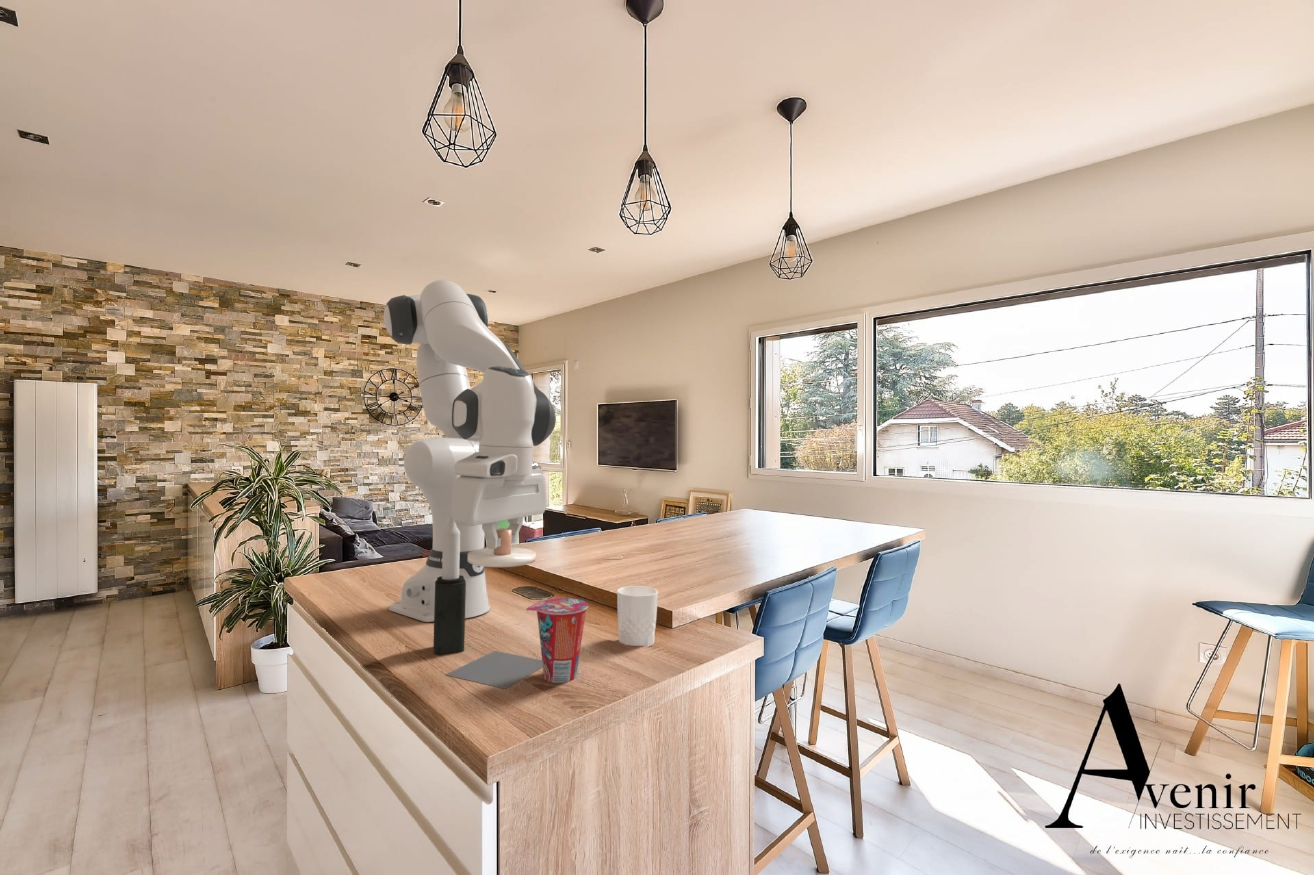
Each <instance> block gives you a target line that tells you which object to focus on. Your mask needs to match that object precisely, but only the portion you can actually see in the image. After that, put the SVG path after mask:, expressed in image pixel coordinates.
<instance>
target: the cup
mask: <svg viewBox="0 0 1314 875" xmlns="http://www.w3.org/2000/svg"><path fill="white" fill-rule="evenodd" d="M588 608H589V604H588V602H586V601H585V600H582V599H578V598H577V599H576V598H568V597H567V598H566V597H565V598H564V597H563V598H562V597H561V598H560V597H559V598H549V599H545V600H542V601H539V602H536V603H534V604H532V605H530V606H528V607H527V608H526V609H525V610H526V611H533V612H534V611H535V612H536V613H537V625H538V634H539V642H540V644H539V645H540V653H541V660H542V663H543V667H542V670H543V671H542V672H543V679H544V680H545V681H546V682H549V683H553V684H554V683H555V684H562V683H563V684H564V683H568V682H571V681H573V680H575V679H576V678H577V677H578V676H577V675H578V669H579V668H578V667H579V662H580V655H581V654H580V652H581V647H582V641H583V640H582V639H583V633H584V627H585V622H586V614H587V609H588Z"/></svg>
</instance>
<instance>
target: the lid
mask: <svg viewBox="0 0 1314 875" xmlns="http://www.w3.org/2000/svg"><path fill="white" fill-rule="evenodd" d="M495 529H496V532H497V536H498V537H501V547H500V548H497V549H488V548H487V547H486V548H483V549H478V550H474V551H471V552H469V553H468V560H467V561H468V562H469V563H470V564H473V565H477V566H484V567H485V568H514V567H520V566H525V565H529V564H530V565H531V564H532V563H535V561H536V560H537V559H536V558H537V552H536V551H534V550H532V549H529V548H523V547H512V545H511V541H512V529H508V528H507V527H506V528H505V527H504V528H502V527H500V528H499V527H498V528H495Z"/></svg>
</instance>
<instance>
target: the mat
mask: <svg viewBox="0 0 1314 875" xmlns="http://www.w3.org/2000/svg"><path fill="white" fill-rule="evenodd" d="M541 669H543V663H542V659H538V658H532V657H527V656H523V655H517V654H513V653H508V652H503V651H498V650H494V651H491V652H490V653H487V654H485V655H483V656H481V657H479V658H476V659H474V660H473V661H470V662H469V663H466V664H464V665H462V666H460V667H457V668H455V669H454V670H451V671H450V672H447V673H446V674H445V676H448V677H452V678H455V679H460V680H465V681H468V682H473V683H478V684H481V685H486V686H491V687H494V688H498V689H503V690H506V689H508V688H510V687H512V686H513V685H515V684H517V683H518V682H520V681H521V680H523V679H525V678H527V677H528V676H530V675H532V674H534V673H535V672H537V671H539V670H541Z"/></svg>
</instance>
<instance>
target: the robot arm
mask: <svg viewBox="0 0 1314 875" xmlns="http://www.w3.org/2000/svg"><path fill="white" fill-rule="evenodd" d="M489 320H490V319H489V313H488V309H487V305H486V303H485V301H484V300H483V299H482V298H481V296H479V295H475V294H471V293H466V291H465V290H464V289H463V288H462V287H461V285H459V284H457V283H455V282H453V280H452V281H451V280H448V279H439V280H438V279H437V280H434V281H431V282H430V283H428V284H427V285H426V286H425V287H424V288H423V290H422V291H421V293H420V294H415V295H405V294H404V295H403V294H402V295H399V296H398V295H397V296H394V297H392V298H390V299H389V300H388V301H387V302H386V304H385V309H384V312H383V323H384V327H385V329H386V331H387V333H388V334H389V336H390V338H391V339H392V340H393V341H394V342H395V343H398V344H403V345H410V346H411V345H412V344H416V345H417V344H419V345H418V347H417V350H416V375H417V381H418V387H419V391H420V392H419V393H420V397H421V398H420V399H421V401H422V402H421V403H422V407H423V412H424V413H423V414H424V416H425V418H426V420H427V422H429V423H430V424H431V425H432V426H434V427H435V428H437V429H438V430H439V431H441V433H442V434H444V436H445V437H430V438H425V439H420V440H417V441H414V442H412V443H411V445H410V446H408V448H407V450H406V452H405V454H404V458H403V468H404V472H405V474H406V477H407V478H408V479H409V481H410V482H411V483H412V484H414V485H415V486H416V487H417V488H418V489H419V490H420V491H421V492H422V493H423V496H425V499H426V501H427V503H428V505H429V509H430V512H431V517H432V518H431V519H432V520H431V521H432V548H431V549H430V550H425V551H423V552H422V554H423V555H422V558H425V557H427V558H426V559H427V560H426V562H425V565H424V566H423V567H422V568H420V569H419V570H417V572H415V574H413V575H411V577H409V578H408V579H407V580H405V582H404V583H403V585H402V588H401V590H402V591H401V596H400V597H401V598H400V600H398V601H397V600H396V601H395V602H393V603H392V604H390V605H389V609H388V611H390V612H394V613H396V614H400V615H403V616H405V617H408V618H413V619H415V620H417V621H421V622H423V623H424V622H425V623H429V622H434V606H435V581H436V580H437V578H438V577H440V576H442V557H443V532H444V531H445V529H446V528H447V526H448V523H449V520H450V514H452V518H453V520H454V522H455V523H456V527H457V528H458V530H459V531H460V560H459V575H461V576H463V577H464V579H465V582H466V599H465V619H469V618H475V617H478V616H481V615H484V614H486V613H488V612H489V611H490V610H491V605H490V601H489V596H488V591H487V582H486V572H485V571H486V570H485V568H486V567H484V566H477V565H473V564H470V563H469V562H468V561H467V560H468V553H469V552H471V551H474V550H478V549H483V548H488V549H497V548H500V547H501V537H498V536H497V532H496V529H499V522H502V521H503V522H504V521H507V523H508V529H512V541H511V546H513V545H516V544H517V543H518V534H519V532H520V530H521V528H522V525H523V521H524V520H523V519H524V518H525V517H530V516H531V517H532V516H537V515H541V514H542V515H543V514H544V513H545V512H546V509H547V505H548V503H547V502H548V501H547V498H548V497H547V484H546V482H547V481H546V478H545V476H544V469H543V468H542V467H541V465H540V464H539V463H538V462H533V461H534V459H533V456H534V447H537V446H539V445H542V443H543V442H545V441H546V440H547V439H548V438H549V436H551V434H552V433H553V431H554V429H555V426H556V422H557V416H556V415H557V414H556V411H555V408H554V406H553V403H552V402H551V401H550V399H549V397H548V396H547V395H546V394H545V393H544V392H543V391H541V390H540V388H538V387H537V386H536V384H535V383H534V381H533V377H532V374H530V373H529V372H528V371H527V370H526V369H525V368H524V366H523V365H522V363H521V361H520V360H519V359H518V358H517V356H516V354H515V353H514V352H513V350H512V349H511V348H510V347H509V346H508V345H507V343H505V342H504V341H503V340H502V339H500V338H499V337H498V336H497V335H496V334H495V333H493V332H492V331H491V330H490V329H489V327H488V326H489ZM467 369H471V370H474V371H477V372H480V373H481V374H483V377H482V380H480V382H479V383H477V384H476V385H475V386H473V387H471V384H470V379H469V374H468V370H467ZM485 537H486V546H485Z"/></svg>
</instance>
